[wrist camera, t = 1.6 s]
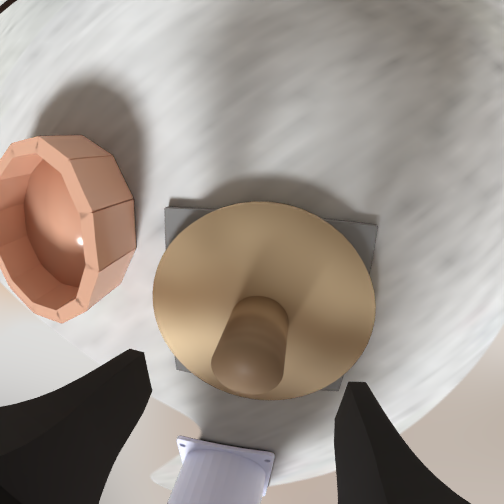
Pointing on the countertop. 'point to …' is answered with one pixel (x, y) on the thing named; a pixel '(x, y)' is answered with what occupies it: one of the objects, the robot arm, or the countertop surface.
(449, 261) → the countertop surface
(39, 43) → the countertop surface
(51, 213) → the bowl
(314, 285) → the lid
